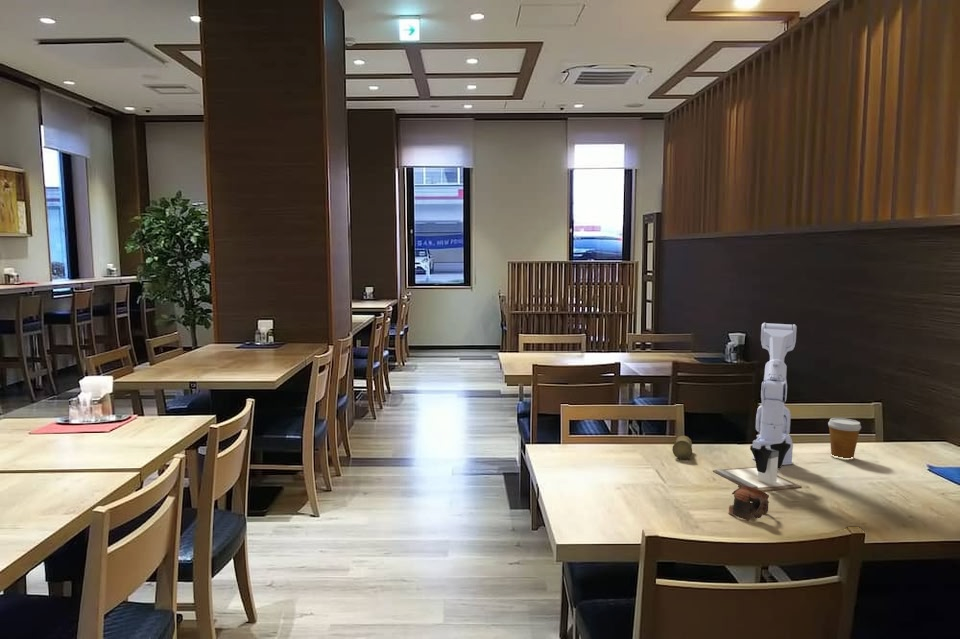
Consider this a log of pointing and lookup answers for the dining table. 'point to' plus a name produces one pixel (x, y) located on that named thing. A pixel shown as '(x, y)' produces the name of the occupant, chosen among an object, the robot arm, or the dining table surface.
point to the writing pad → (754, 479)
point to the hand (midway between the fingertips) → (769, 469)
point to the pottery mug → (743, 499)
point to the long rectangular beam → (770, 469)
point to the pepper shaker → (682, 447)
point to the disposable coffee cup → (843, 436)
